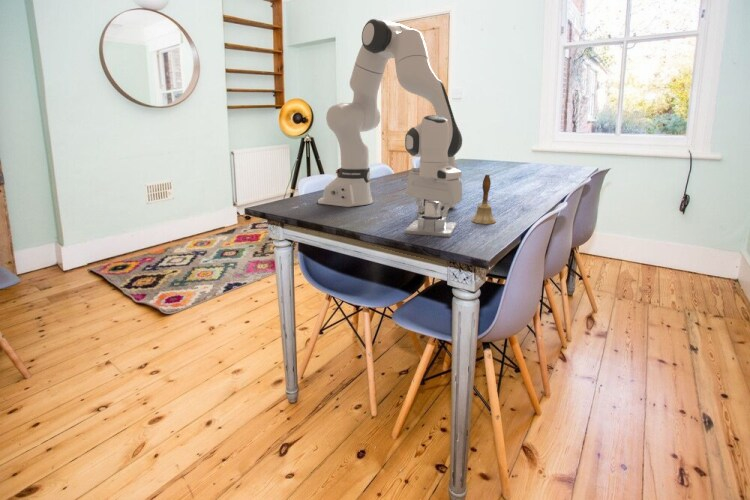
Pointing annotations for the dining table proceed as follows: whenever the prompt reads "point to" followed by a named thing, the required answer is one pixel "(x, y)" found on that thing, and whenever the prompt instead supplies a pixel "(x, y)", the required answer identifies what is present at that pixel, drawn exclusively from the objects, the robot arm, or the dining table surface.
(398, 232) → the dining table surface
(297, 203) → the dining table surface
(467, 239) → the dining table surface
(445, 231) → the duct flange
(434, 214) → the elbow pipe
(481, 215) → the hand bell
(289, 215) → the dining table surface
